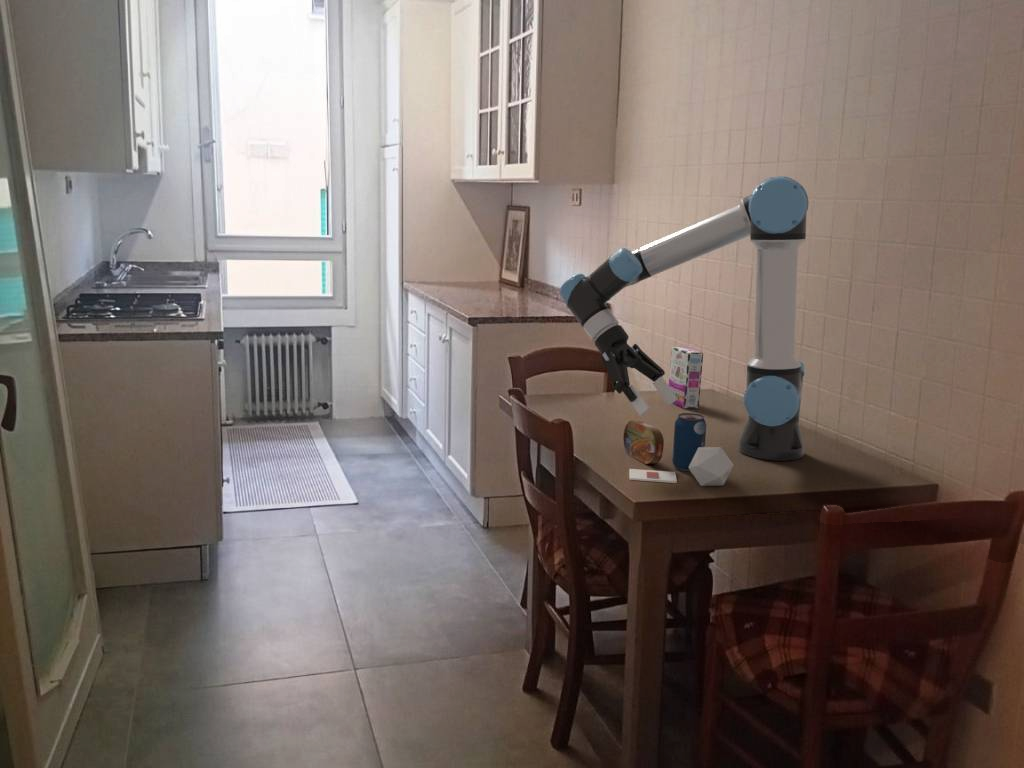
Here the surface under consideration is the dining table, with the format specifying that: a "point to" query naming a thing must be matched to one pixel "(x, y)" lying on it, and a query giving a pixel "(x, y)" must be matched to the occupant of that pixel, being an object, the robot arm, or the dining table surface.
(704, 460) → the die
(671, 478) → the card
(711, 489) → the dining table surface
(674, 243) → the robot arm
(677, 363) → the candy bar box
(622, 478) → the dining table surface
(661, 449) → the tin
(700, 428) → the soda can
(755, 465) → the dining table surface
